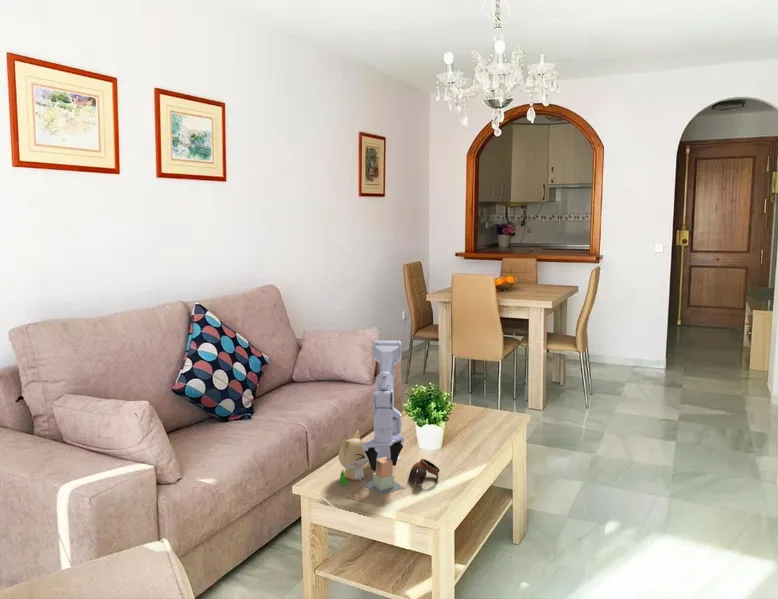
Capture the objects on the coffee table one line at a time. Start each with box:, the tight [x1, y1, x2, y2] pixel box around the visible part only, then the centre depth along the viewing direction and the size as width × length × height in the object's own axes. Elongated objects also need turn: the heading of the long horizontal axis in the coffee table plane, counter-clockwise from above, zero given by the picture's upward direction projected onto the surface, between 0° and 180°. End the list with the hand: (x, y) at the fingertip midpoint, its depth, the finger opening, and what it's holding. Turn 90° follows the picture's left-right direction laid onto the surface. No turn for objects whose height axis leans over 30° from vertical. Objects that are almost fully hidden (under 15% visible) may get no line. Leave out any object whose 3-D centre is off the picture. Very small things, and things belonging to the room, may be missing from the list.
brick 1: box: [374, 457, 393, 478], centre depth 210 cm, size 4×4×5 cm
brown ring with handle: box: [407, 458, 441, 485], centre depth 215 cm, size 12×10×8 cm
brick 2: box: [372, 472, 395, 490], centre depth 211 cm, size 5×5×4 cm
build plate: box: [362, 480, 405, 496], centre depth 211 cm, size 10×10×1 cm
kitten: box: [338, 430, 369, 486], centre depth 217 cm, size 15×10×15 cm
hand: (383, 467), depth 210 cm, fingers open, 7 cm apart
